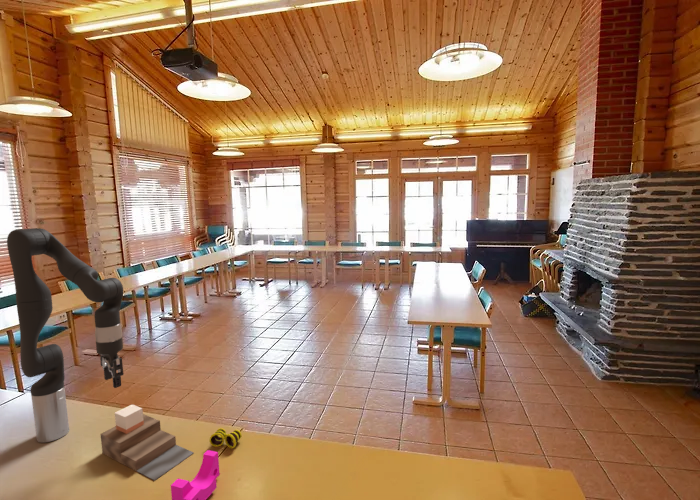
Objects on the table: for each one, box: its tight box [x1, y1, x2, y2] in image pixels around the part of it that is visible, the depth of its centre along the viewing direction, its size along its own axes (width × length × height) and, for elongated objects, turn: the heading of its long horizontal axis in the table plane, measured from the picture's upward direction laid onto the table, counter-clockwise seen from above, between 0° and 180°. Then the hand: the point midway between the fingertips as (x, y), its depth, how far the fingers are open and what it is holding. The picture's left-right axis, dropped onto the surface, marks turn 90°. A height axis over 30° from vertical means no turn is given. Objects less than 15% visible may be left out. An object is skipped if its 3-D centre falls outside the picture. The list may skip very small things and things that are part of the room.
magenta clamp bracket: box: [170, 449, 220, 500], centre depth 105 cm, size 15×6×8 cm, turn 163°
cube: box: [114, 404, 144, 434], centre depth 126 cm, size 6×6×6 cm
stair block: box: [100, 413, 195, 482], centre depth 122 cm, size 28×14×7 cm, turn 62°
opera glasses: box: [209, 427, 242, 449], centre depth 127 cm, size 10×5×5 cm, turn 80°
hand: (112, 382), depth 125 cm, fingers open, 8 cm apart
